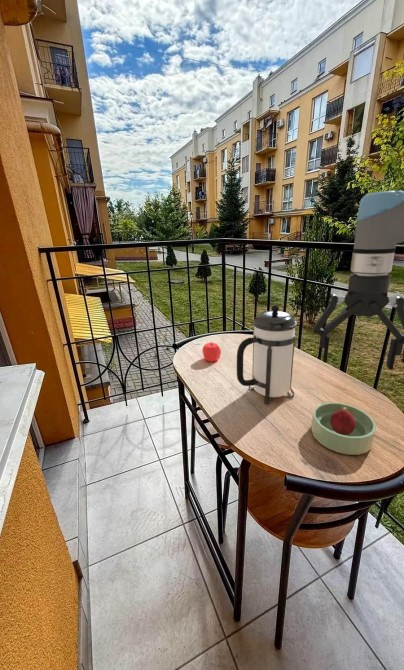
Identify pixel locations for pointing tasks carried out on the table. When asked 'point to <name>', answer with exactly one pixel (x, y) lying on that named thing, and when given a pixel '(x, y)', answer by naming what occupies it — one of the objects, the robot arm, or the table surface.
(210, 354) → the apple
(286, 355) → the coffee press
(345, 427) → the onion
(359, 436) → the bowl
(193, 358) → the table surface
